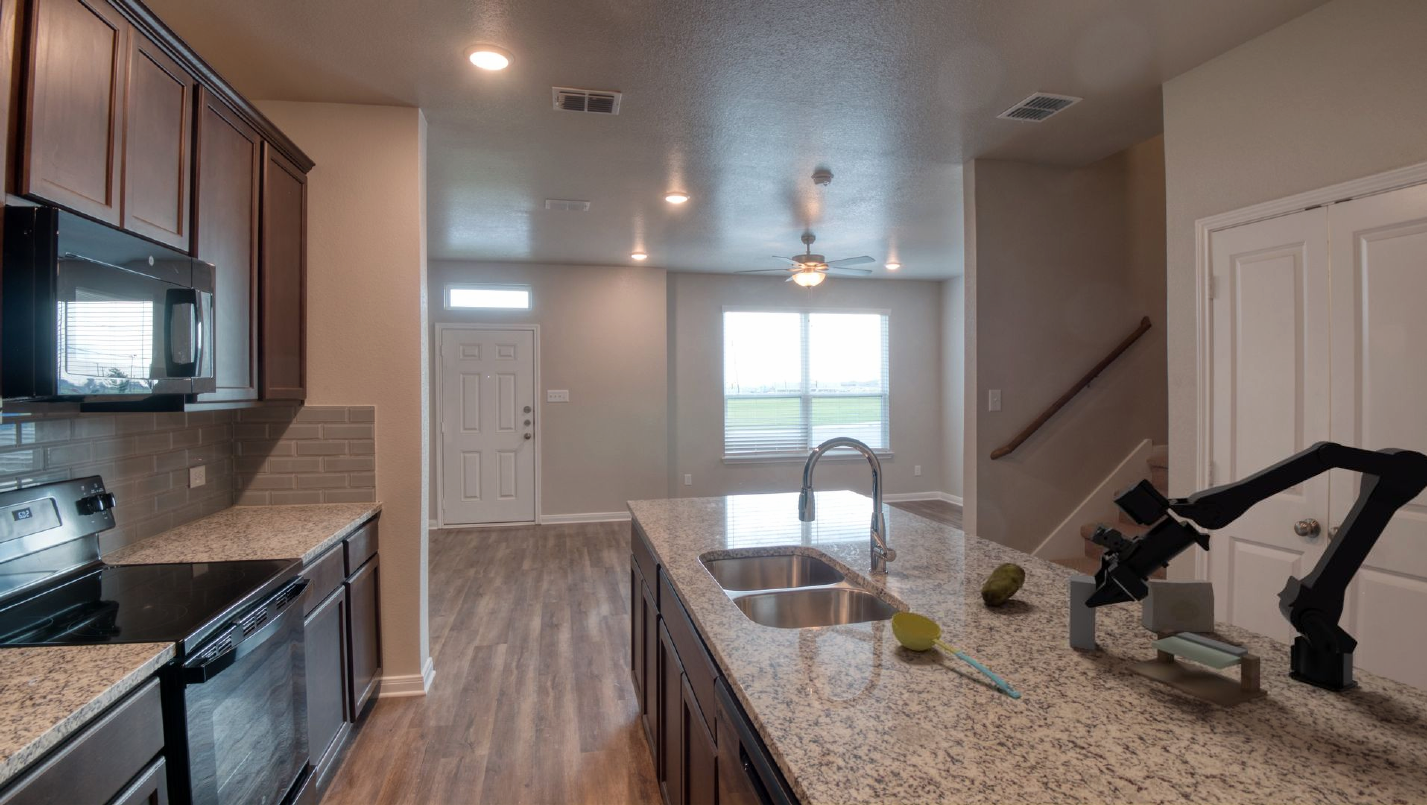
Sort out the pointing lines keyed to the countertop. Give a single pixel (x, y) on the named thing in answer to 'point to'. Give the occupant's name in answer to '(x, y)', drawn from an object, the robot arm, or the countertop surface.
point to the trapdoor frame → (1202, 677)
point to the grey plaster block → (1179, 606)
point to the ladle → (933, 641)
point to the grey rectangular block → (1081, 612)
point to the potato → (1003, 583)
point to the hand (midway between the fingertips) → (1085, 598)
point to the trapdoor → (1201, 650)
